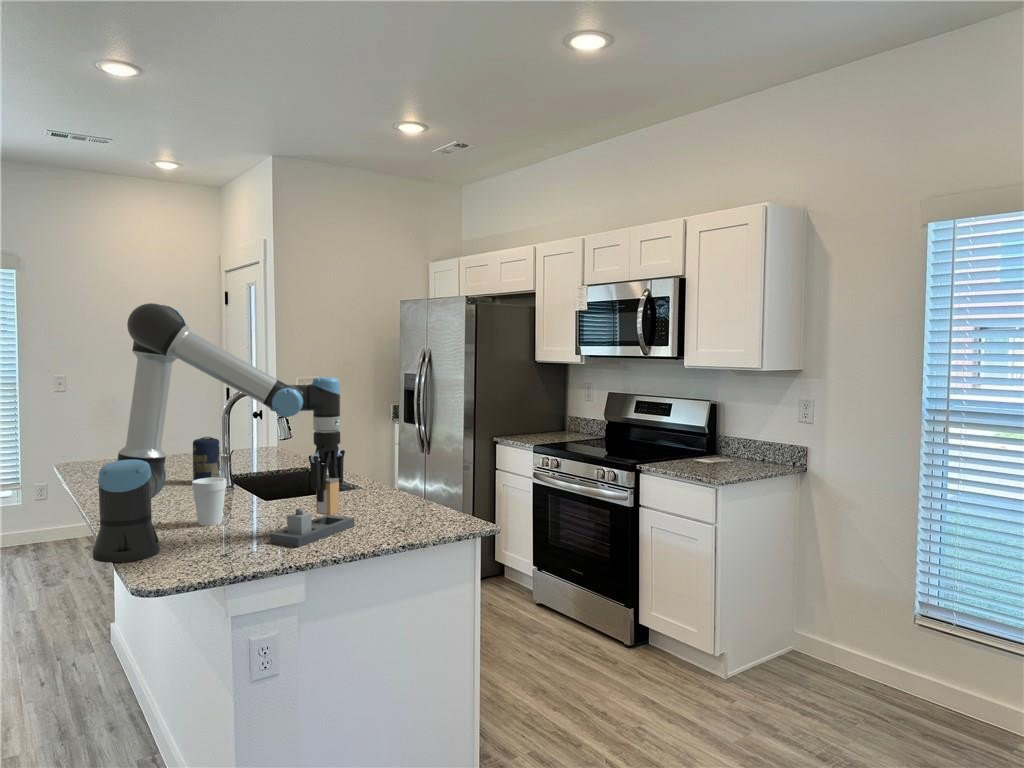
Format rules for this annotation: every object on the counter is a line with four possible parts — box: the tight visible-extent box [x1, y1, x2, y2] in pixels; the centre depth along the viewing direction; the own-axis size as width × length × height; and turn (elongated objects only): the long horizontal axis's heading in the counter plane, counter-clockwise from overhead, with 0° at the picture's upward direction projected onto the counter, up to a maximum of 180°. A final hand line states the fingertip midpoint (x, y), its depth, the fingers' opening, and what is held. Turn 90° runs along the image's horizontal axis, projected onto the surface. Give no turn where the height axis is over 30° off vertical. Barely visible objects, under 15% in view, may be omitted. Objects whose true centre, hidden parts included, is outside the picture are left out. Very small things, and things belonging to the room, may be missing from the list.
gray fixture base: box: [269, 508, 356, 548], centre depth 203 cm, size 24×10×8 cm, turn 155°
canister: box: [192, 436, 221, 481], centre depth 275 cm, size 10×10×18 cm
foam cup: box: [191, 477, 227, 527], centre depth 215 cm, size 10×9×13 cm
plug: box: [315, 476, 340, 516], centre depth 208 cm, size 4×5×10 cm
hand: (327, 510), depth 209 cm, fingers closed on plug, 4 cm apart
